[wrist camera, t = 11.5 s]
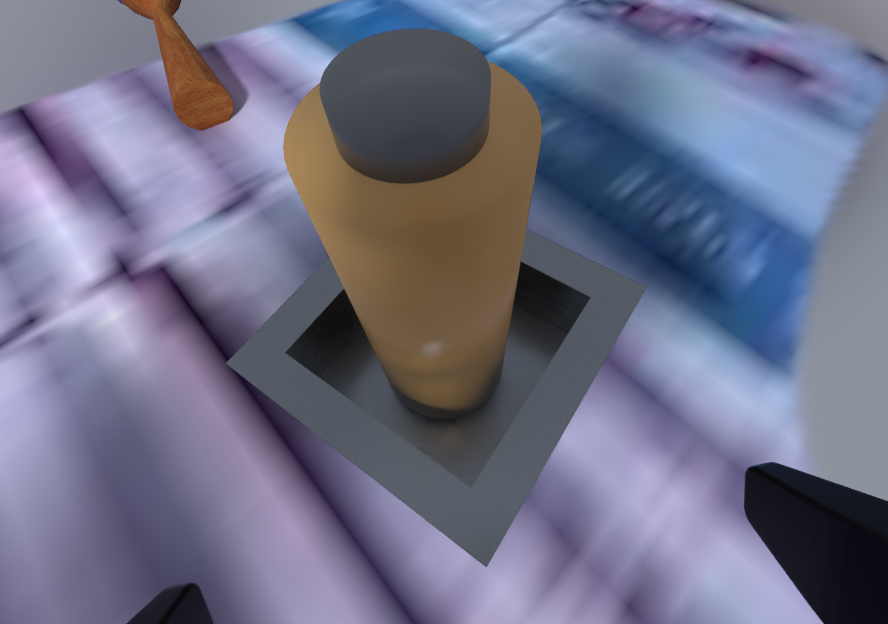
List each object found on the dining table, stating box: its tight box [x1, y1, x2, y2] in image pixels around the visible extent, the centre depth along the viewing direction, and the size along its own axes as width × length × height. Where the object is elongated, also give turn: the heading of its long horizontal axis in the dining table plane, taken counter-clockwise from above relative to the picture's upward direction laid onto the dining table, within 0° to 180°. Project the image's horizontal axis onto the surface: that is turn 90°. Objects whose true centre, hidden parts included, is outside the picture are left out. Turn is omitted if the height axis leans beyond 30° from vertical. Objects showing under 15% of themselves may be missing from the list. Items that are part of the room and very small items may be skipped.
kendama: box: [118, 0, 233, 130], centre depth 31 cm, size 6×6×20 cm
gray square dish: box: [226, 229, 646, 567], centre depth 18 cm, size 11×11×4 cm
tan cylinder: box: [283, 29, 542, 419], centre depth 13 cm, size 5×5×13 cm
